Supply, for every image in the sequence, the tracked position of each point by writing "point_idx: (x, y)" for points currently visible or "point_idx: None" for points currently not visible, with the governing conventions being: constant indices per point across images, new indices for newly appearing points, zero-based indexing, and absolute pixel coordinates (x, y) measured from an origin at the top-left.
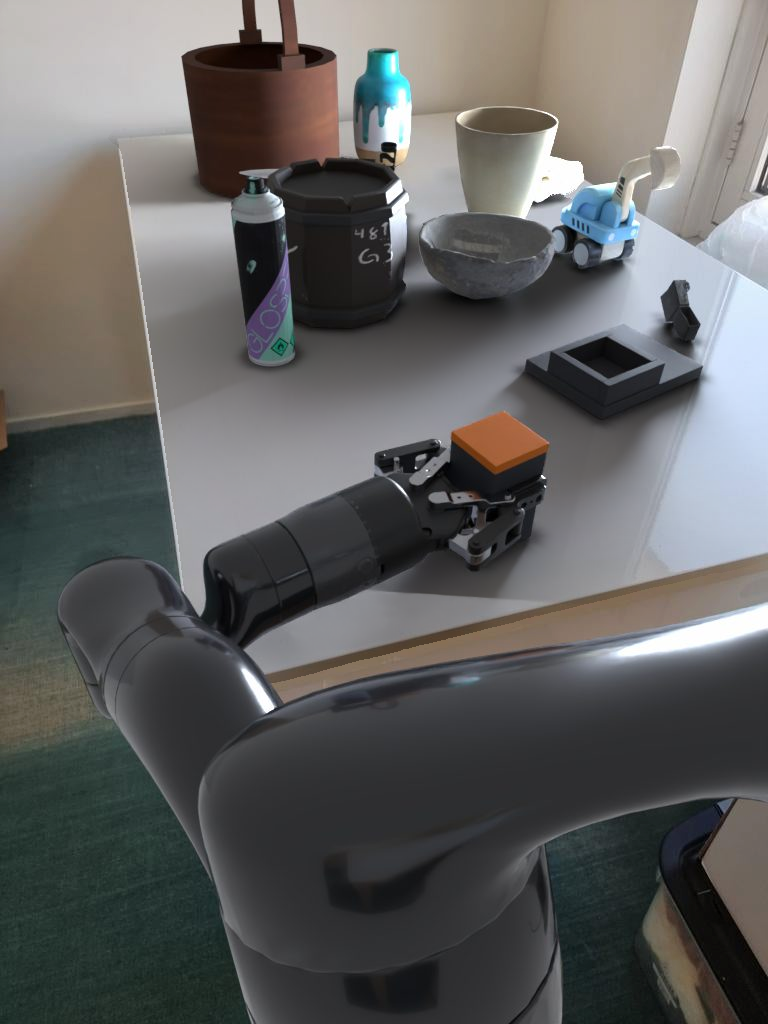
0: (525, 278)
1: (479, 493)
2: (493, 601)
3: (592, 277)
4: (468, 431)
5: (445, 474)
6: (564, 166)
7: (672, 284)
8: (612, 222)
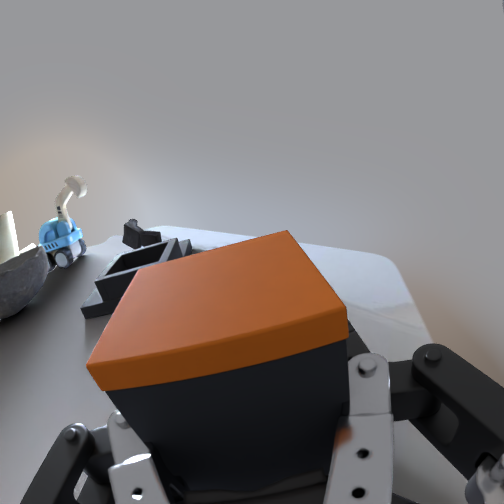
0: (38, 272)
1: (356, 425)
2: (453, 497)
3: (76, 266)
4: (126, 331)
5: (173, 480)
6: (26, 247)
7: (125, 227)
8: (66, 231)
